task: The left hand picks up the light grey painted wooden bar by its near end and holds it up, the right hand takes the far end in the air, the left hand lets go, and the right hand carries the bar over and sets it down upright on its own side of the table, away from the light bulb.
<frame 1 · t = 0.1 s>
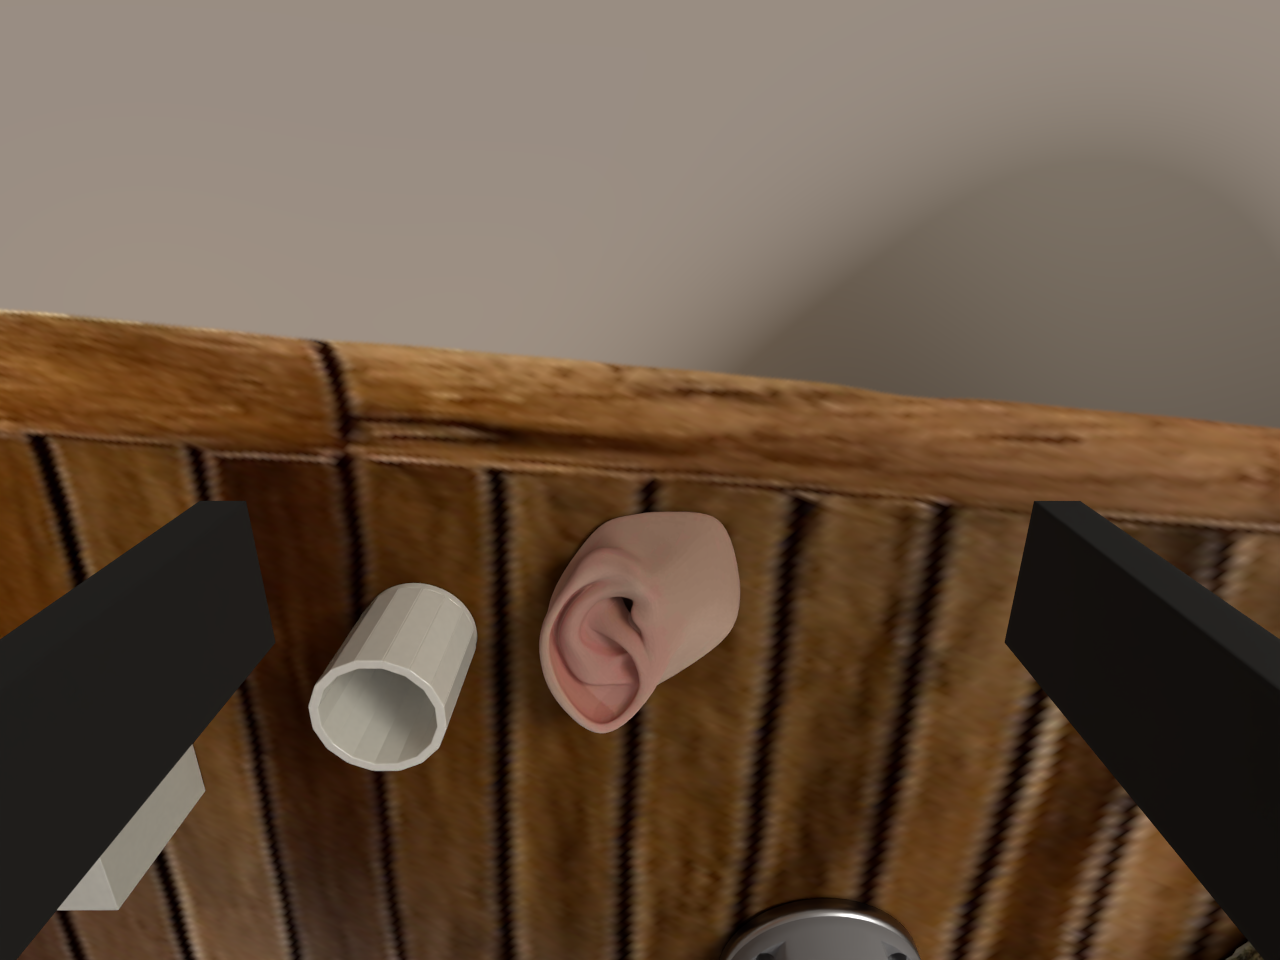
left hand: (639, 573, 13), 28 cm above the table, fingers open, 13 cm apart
white cup: (420, 632, 46), on the table
anatomical model: (641, 601, 45), on the table
grey bar: (18, 761, 49), on the table
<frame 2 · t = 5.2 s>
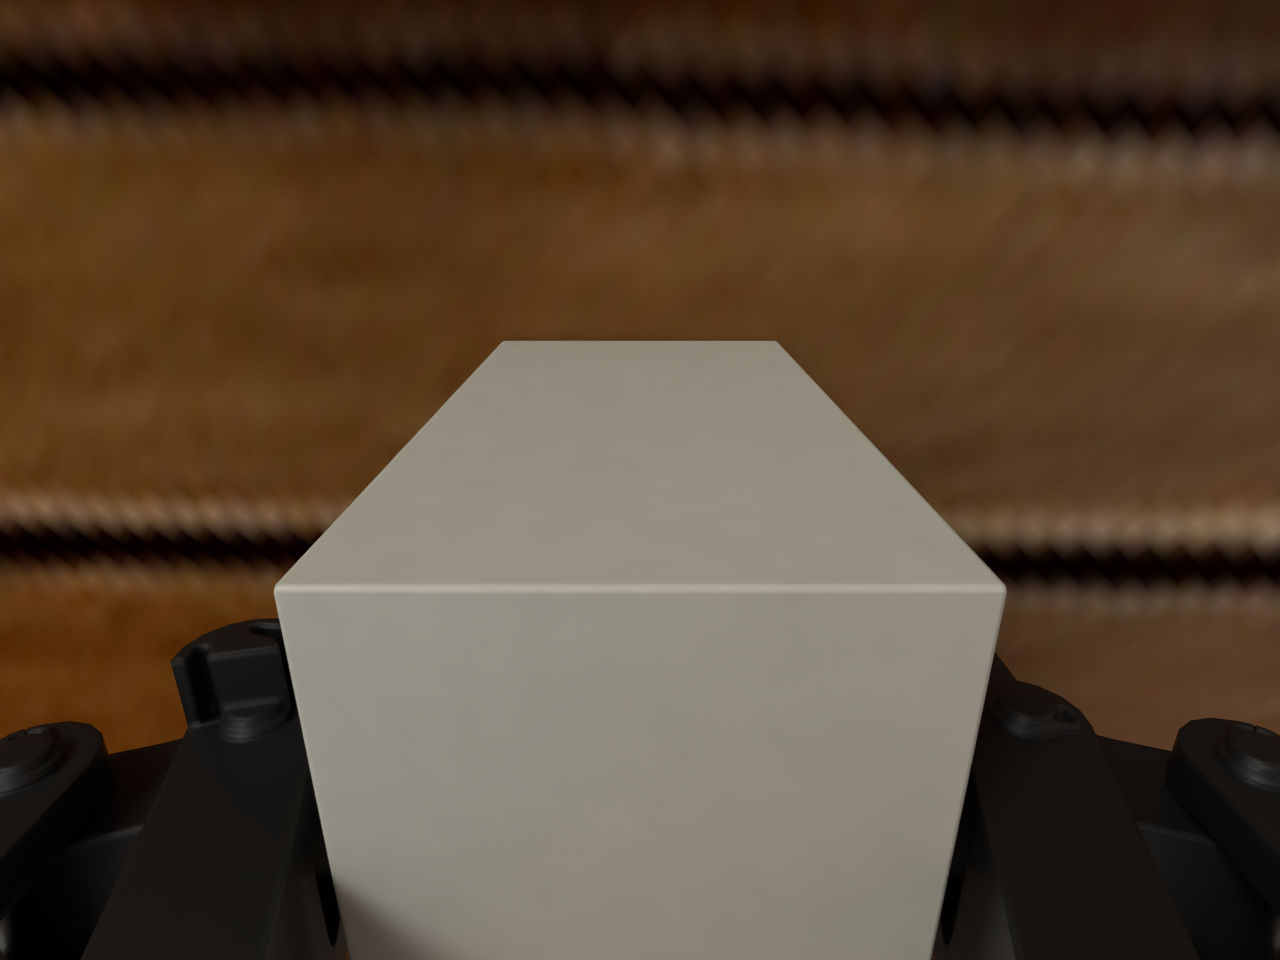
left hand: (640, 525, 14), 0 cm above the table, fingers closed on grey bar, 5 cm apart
grey bar: (639, 840, 18), on the table, touching left hand
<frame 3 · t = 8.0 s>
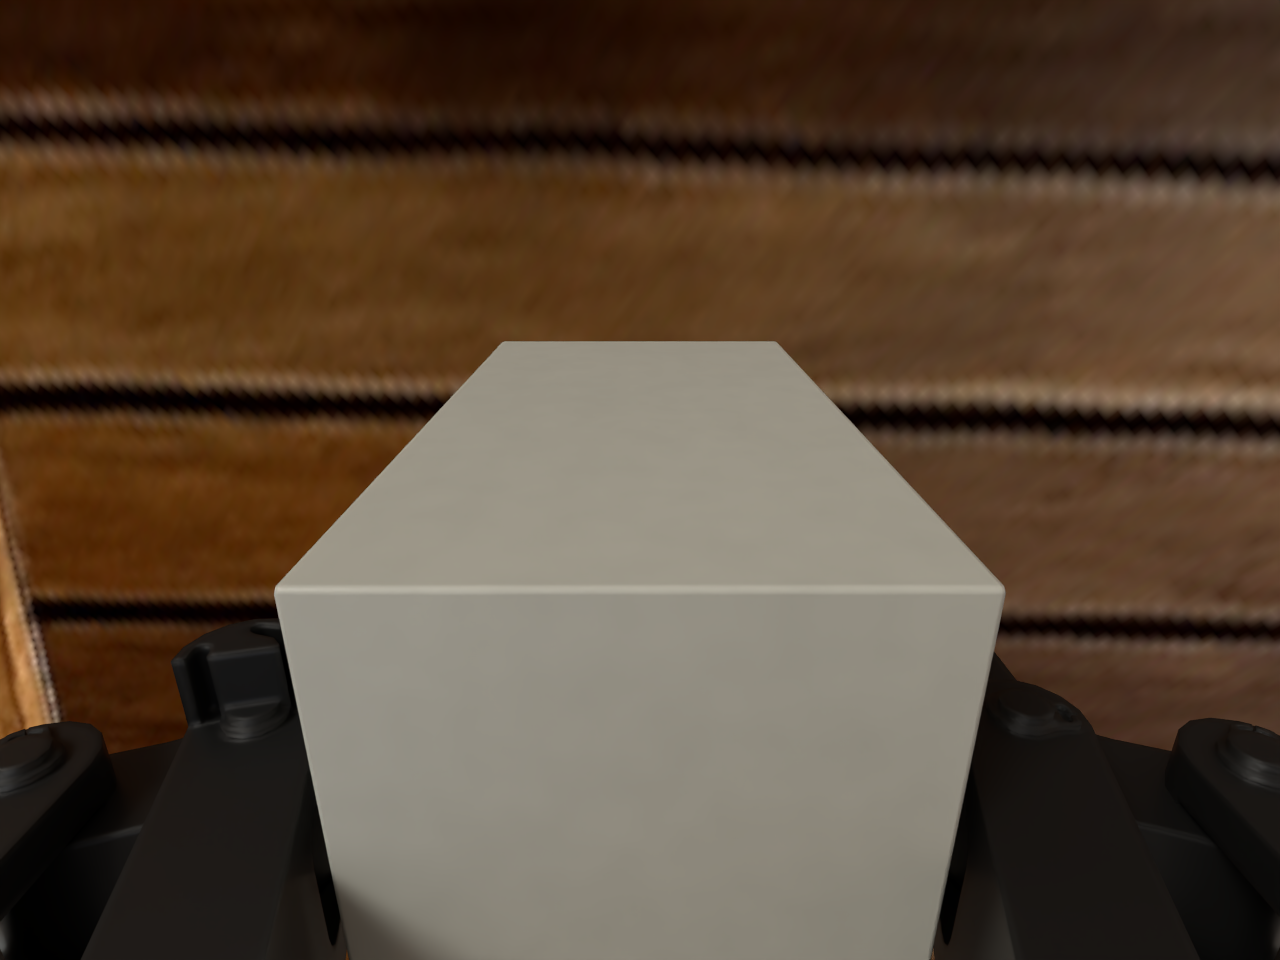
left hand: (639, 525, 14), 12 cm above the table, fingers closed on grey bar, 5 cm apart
grey bar: (639, 840, 18), point 11 cm above the table, touching left hand
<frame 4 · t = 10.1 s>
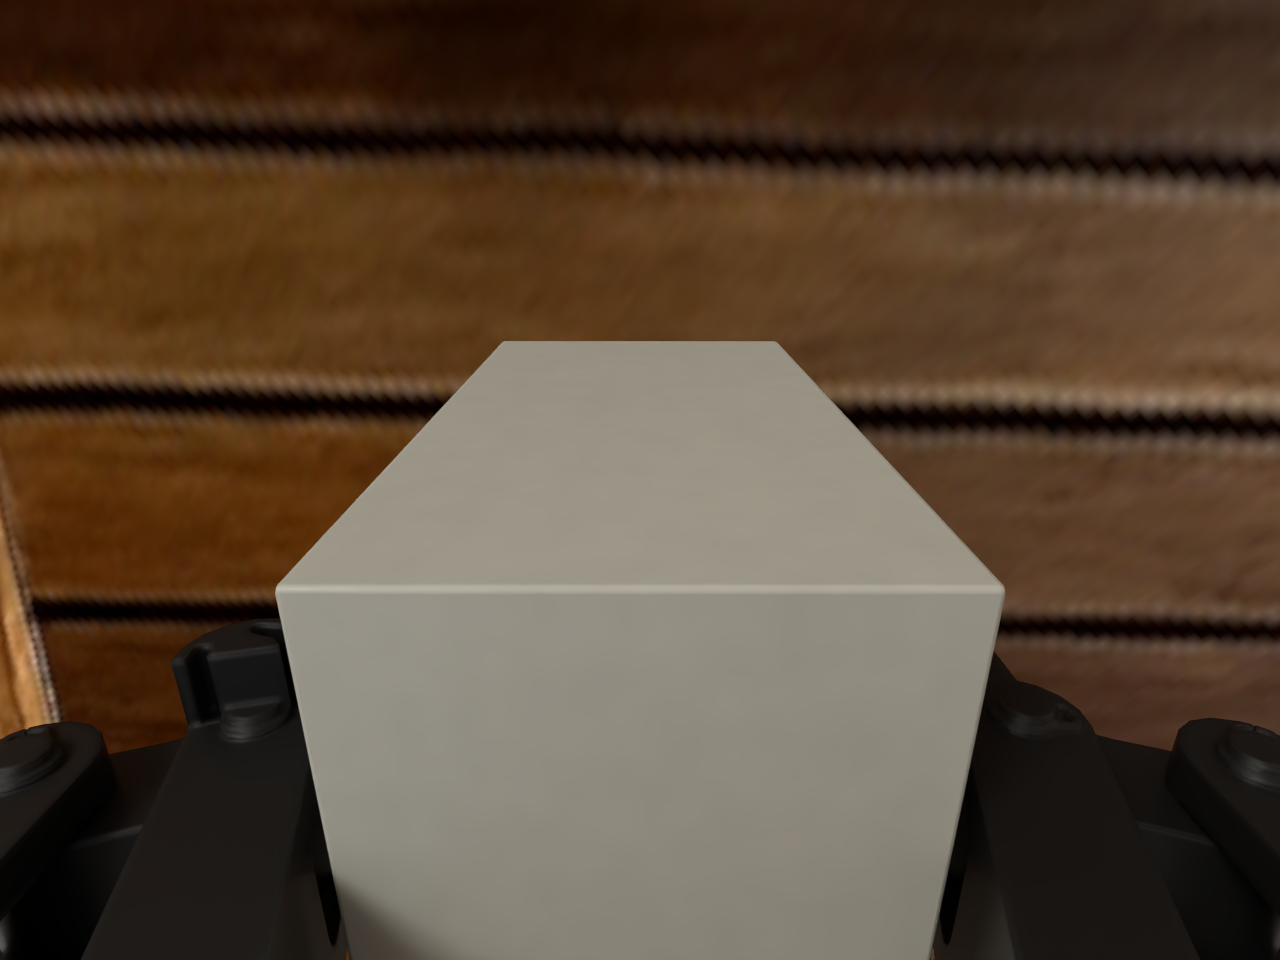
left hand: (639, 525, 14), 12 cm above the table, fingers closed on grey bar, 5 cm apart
grey bar: (639, 839, 18), point 11 cm above the table, touching left hand, right hand
when the left hand's fingers open (12 cm above the table, at t = 10.9 s): grey bar stays where it is, held by the right hand.
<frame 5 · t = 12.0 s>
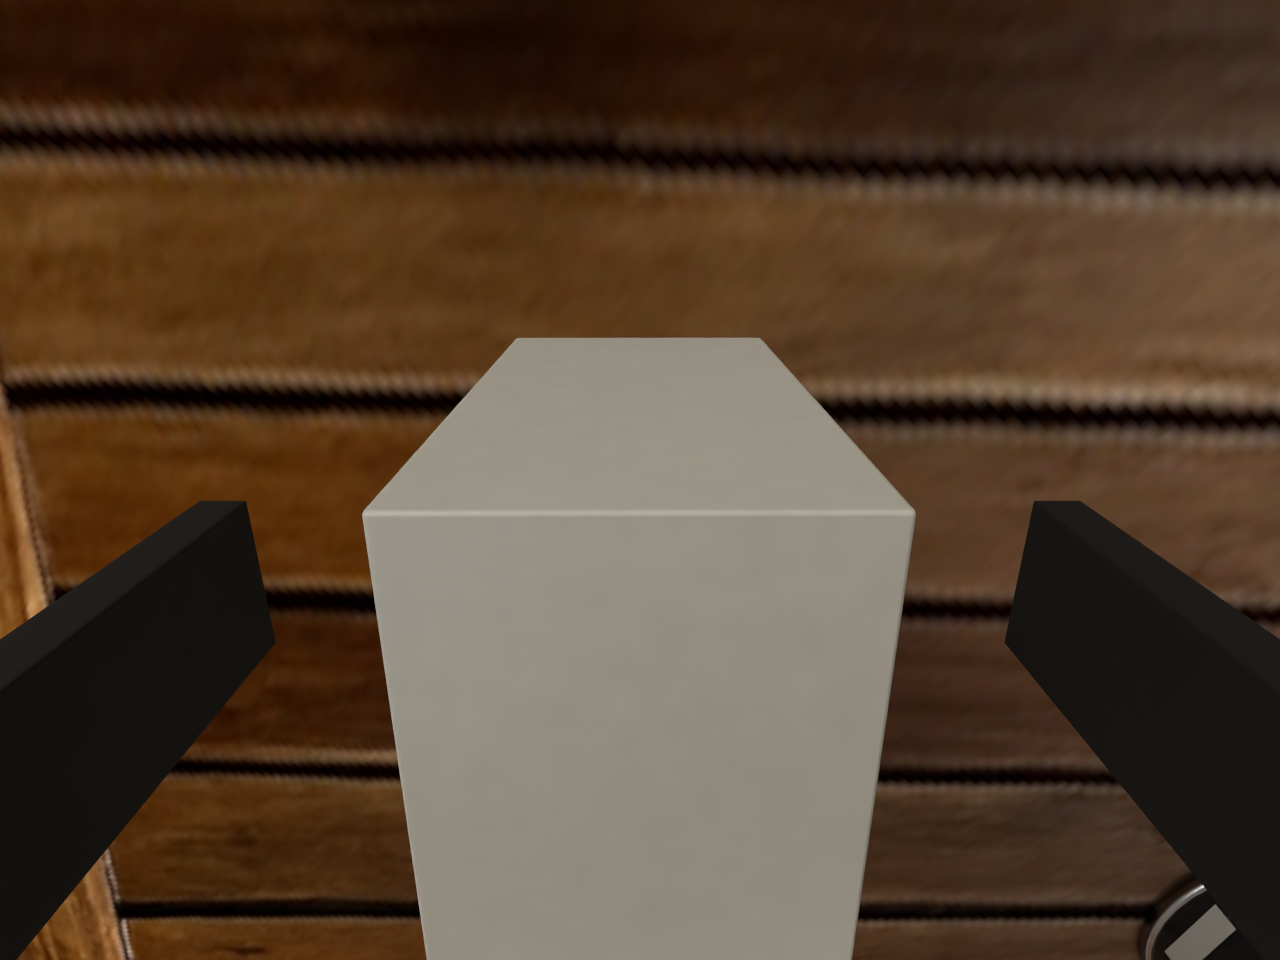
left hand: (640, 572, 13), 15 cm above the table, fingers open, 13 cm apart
grey bar: (638, 798, 19), point 11 cm above the table, touching right hand
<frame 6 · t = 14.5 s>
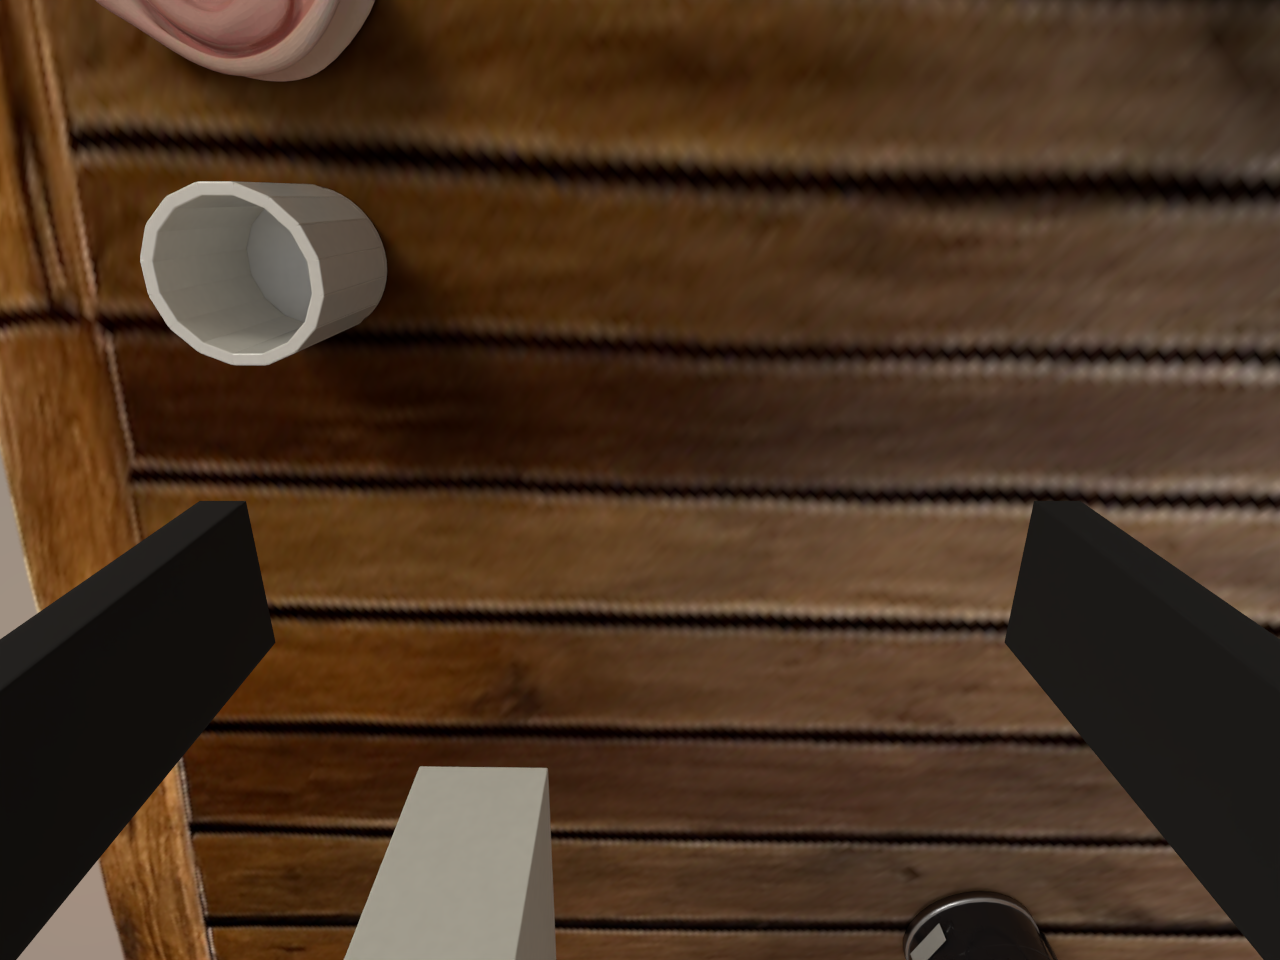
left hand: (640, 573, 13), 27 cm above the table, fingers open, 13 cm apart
white cup: (316, 260, 36), on the table
when the right hand's fingers open (4 cm above the table, at t = 19.1 s): grey bar drops 1 cm, on the table.
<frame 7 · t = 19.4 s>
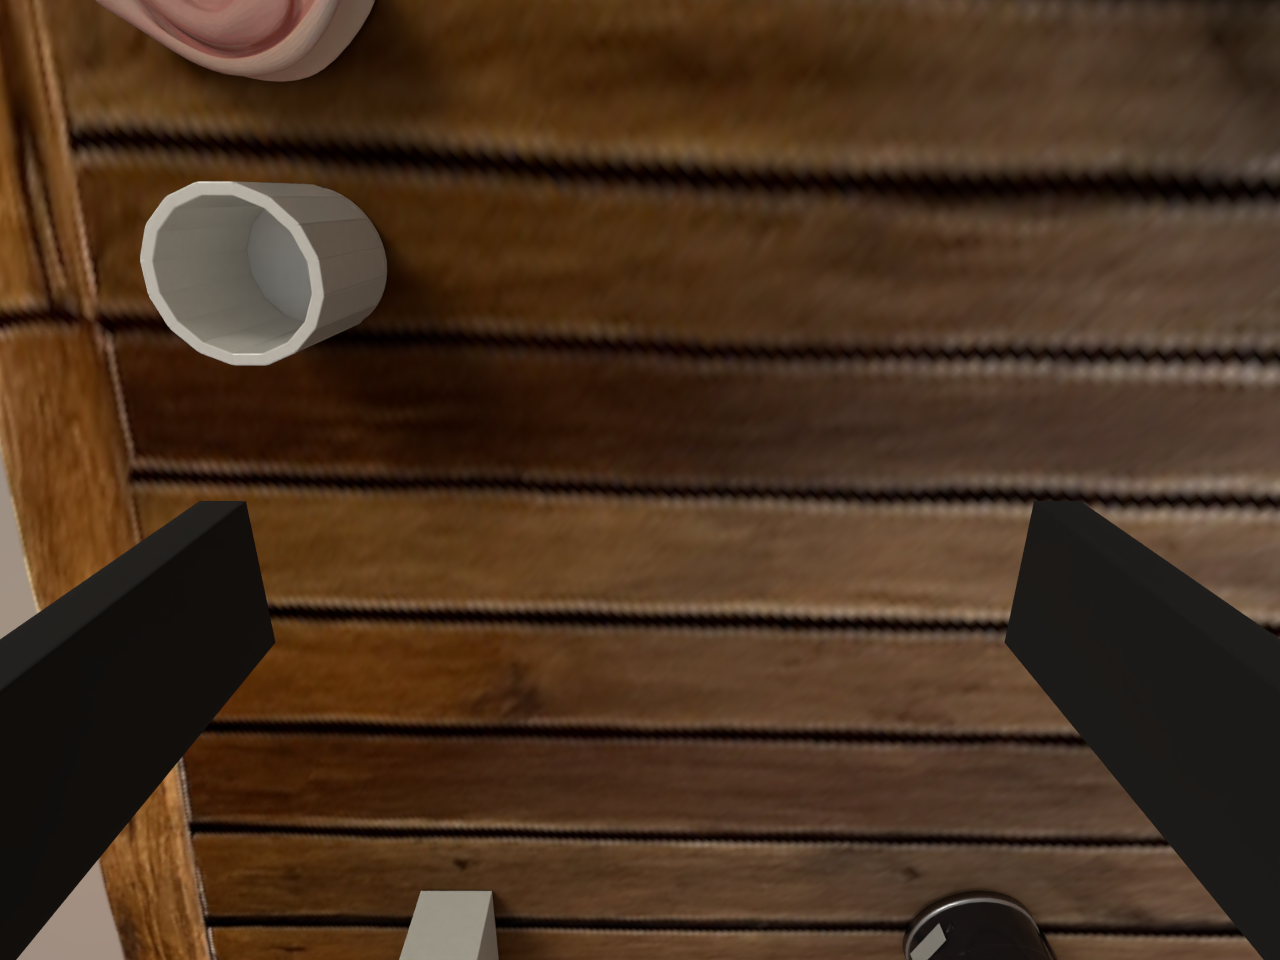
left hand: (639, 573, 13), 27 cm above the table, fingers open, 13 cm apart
white cup: (316, 260, 36), on the table
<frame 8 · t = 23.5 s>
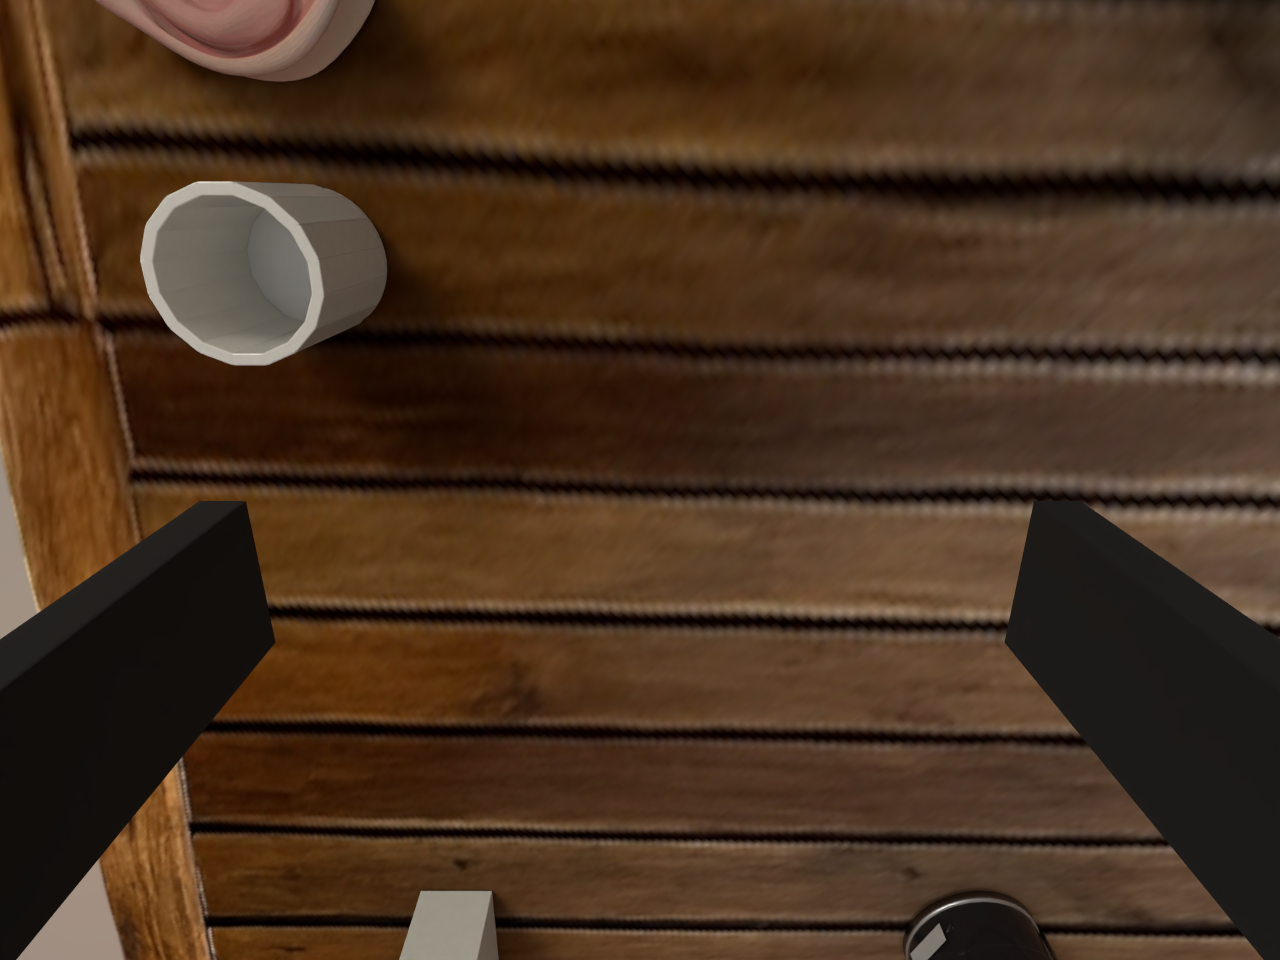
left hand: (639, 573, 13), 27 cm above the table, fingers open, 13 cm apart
white cup: (316, 260, 36), on the table
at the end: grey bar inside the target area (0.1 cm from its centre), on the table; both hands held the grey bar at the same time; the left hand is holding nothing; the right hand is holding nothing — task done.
